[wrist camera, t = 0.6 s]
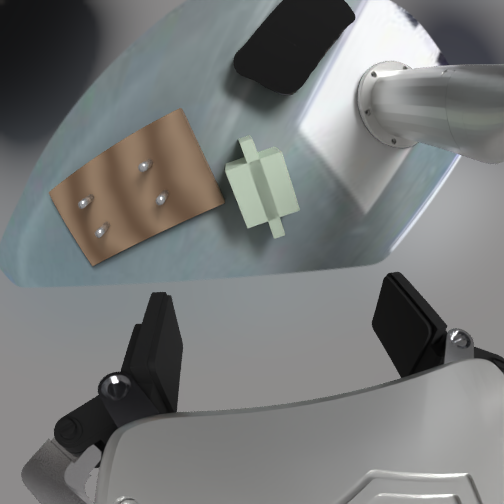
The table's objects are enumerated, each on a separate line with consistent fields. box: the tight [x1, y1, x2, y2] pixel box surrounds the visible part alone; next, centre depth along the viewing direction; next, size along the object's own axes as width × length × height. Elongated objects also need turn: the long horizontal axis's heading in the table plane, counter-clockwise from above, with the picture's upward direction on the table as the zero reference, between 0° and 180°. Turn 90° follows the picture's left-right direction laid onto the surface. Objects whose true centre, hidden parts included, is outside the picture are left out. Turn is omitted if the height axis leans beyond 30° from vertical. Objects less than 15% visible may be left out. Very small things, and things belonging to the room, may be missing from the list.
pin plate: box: [49, 108, 225, 266], centre depth 32 cm, size 22×13×4 cm, turn 112°
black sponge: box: [234, 0, 355, 95], centre depth 25 cm, size 16×8×4 cm, turn 147°
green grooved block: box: [225, 135, 300, 239], centre depth 33 cm, size 12×6×5 cm, turn 19°
